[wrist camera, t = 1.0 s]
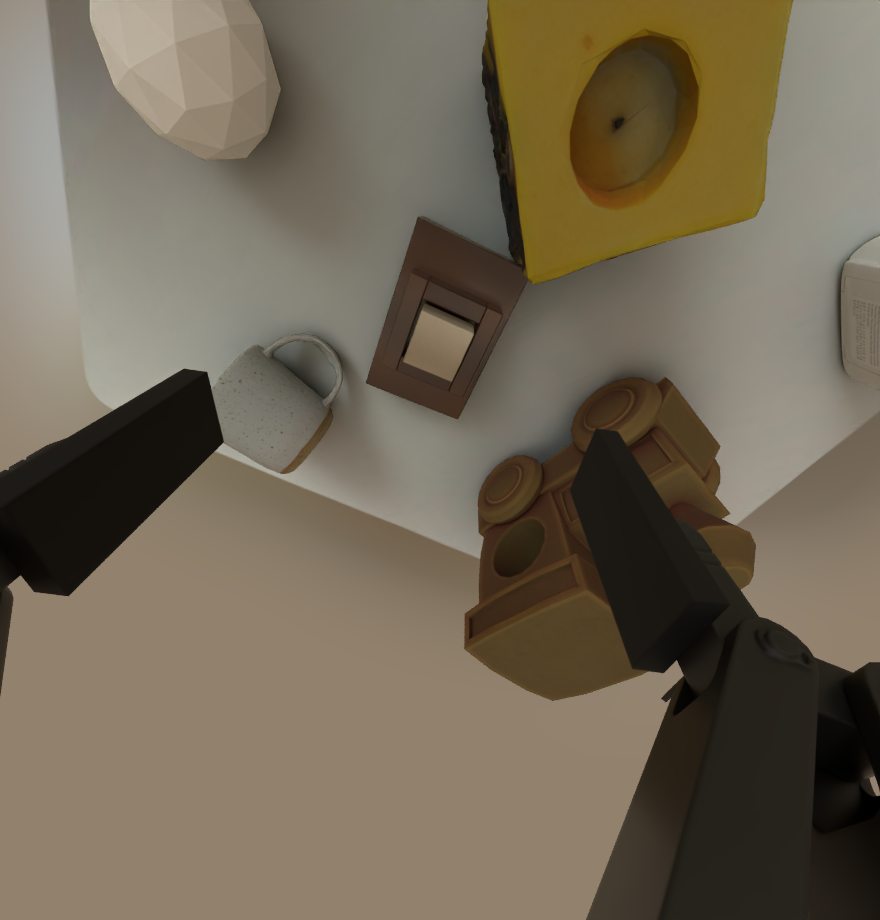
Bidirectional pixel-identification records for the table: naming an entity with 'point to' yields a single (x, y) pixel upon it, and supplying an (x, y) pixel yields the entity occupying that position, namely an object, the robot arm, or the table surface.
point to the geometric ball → (191, 70)
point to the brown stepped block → (452, 291)
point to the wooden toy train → (585, 543)
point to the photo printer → (862, 314)
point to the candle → (628, 121)
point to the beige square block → (439, 343)
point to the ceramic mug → (273, 407)
